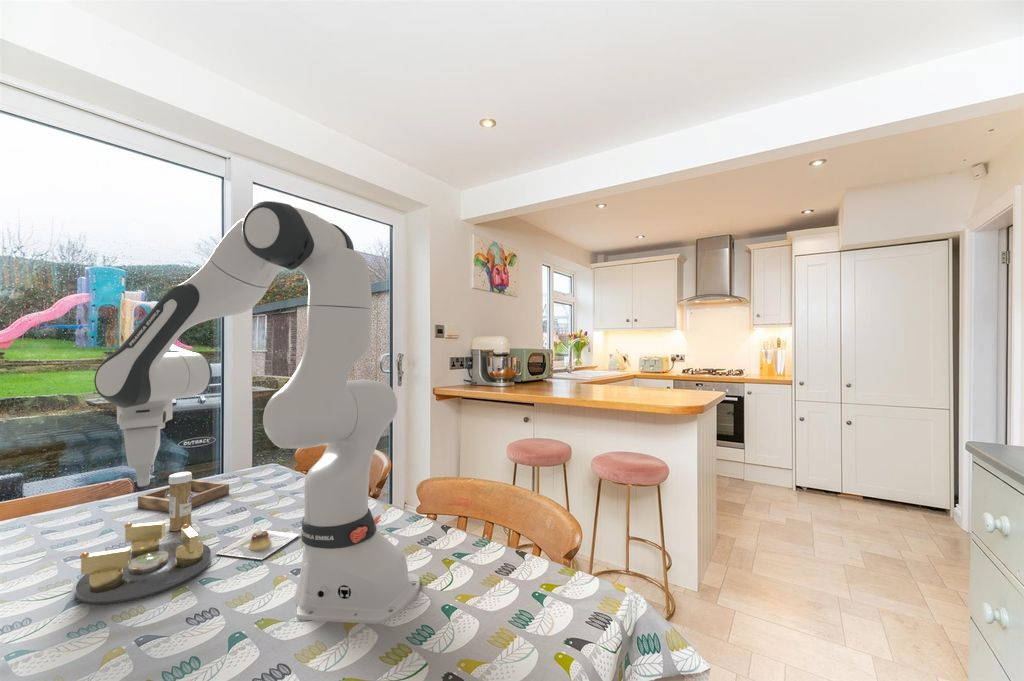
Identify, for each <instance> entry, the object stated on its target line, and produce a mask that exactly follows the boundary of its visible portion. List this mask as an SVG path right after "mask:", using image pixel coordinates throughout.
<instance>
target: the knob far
mask: <svg viewBox="0 0 1024 681" xmlns="http://www.w3.org/2000/svg"><path fill="white" fill-rule="evenodd" d="M124 529H125V530H124V531H125V532H124V536H125V537H124V538H125V539H124V540H125V541H124V543H127V542H128V543H130V542H131V552H132V558H136V557H138V556H140V555H143V554H146V553H150V552H155V551H159V545H160V540H161V539H163V538H164V537H165V536H166V521H155V522H143V523H135V524H134V523H131V522H127V523H126V524H125V525H124Z"/></svg>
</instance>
